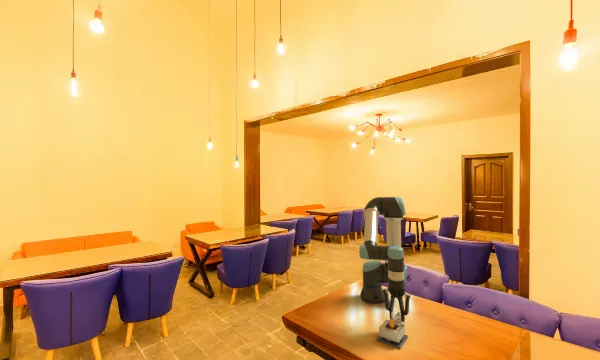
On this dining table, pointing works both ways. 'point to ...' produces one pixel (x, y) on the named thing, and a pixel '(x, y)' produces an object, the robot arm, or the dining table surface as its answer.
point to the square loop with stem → (390, 333)
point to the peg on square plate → (390, 342)
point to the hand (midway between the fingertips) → (397, 326)
